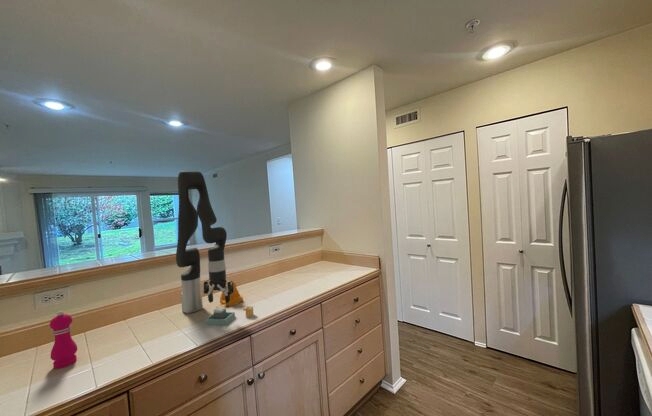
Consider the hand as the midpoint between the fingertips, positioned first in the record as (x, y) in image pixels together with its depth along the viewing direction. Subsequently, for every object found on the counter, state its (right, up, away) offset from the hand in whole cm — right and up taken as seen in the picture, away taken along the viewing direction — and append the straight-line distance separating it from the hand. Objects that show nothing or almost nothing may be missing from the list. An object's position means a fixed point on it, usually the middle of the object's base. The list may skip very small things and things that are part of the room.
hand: (219, 302), depth 129 cm
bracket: (-2, -9, +23) cm, 24 cm away
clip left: (-3, -9, +9) cm, 13 cm away
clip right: (+14, -8, +4) cm, 16 cm away
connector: (+1, -9, 0) cm, 9 cm away
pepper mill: (-46, -13, -29) cm, 56 cm away
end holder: (+1, -9, 0) cm, 9 cm away
